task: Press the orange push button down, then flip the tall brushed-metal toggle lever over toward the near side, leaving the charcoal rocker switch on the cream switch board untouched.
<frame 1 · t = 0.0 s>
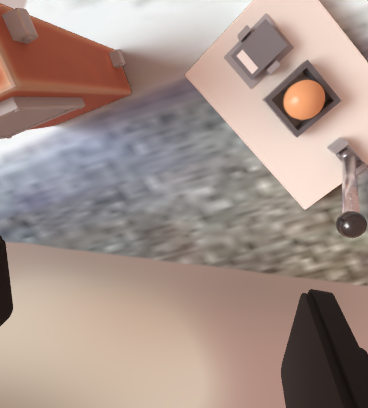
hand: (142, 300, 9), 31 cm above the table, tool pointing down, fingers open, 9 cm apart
push button: (302, 100, 30), point 6 cm above the table, slide at 0.0 cm
control panel: (83, 91, 39), on the table
toggle lever: (349, 185, 27), point 10 cm above the table, hinge at 20.0°
switch board: (292, 100, 35), on the table
rocker switch: (258, 50, 30), point 5 cm above the table, hinge at 10.0°
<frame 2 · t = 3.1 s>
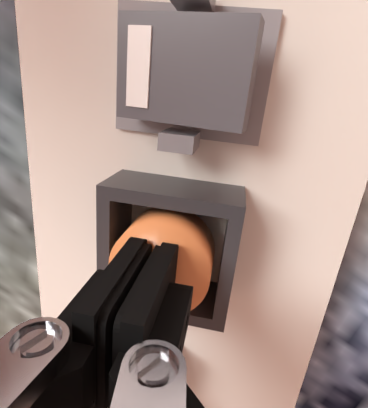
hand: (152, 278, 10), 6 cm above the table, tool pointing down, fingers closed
push button: (164, 259, 11), point 5 cm above the table, slide at 0.6 cm, touching gripper
switch board: (187, 210, 16), on the table
rocker switch: (184, 72, 10), point 5 cm above the table, hinge at 10.0°
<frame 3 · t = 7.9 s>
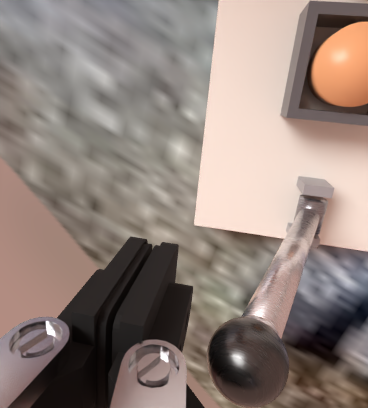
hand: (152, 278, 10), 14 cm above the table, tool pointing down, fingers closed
push button: (349, 68, 15), point 5 cm above the table, slide at 0.8 cm
toggle lever: (290, 258, 13), point 11 cm above the table, hinge at 18.8°, touching gripper
switch board: (323, 75, 19), on the table
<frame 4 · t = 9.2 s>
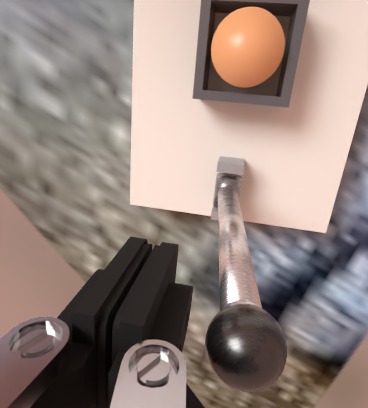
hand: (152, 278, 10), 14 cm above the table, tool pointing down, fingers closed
push button: (246, 51, 16), point 5 cm above the table, slide at 0.8 cm
toggle lever: (232, 235, 13), point 11 cm above the table, hinge at -4.9°, touching gripper
switch board: (246, 60, 21), on the table
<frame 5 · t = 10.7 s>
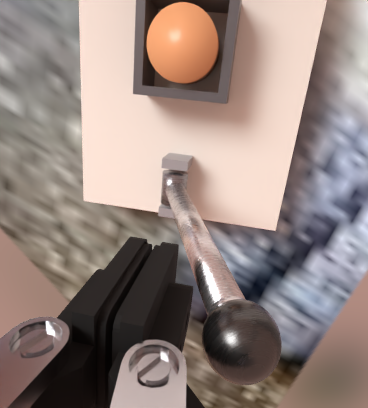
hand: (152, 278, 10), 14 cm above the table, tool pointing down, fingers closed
push button: (184, 47, 16), point 5 cm above the table, slide at 0.8 cm
toggle lever: (193, 232, 13), point 10 cm above the table, hinge at -19.8°, touching gripper
switch board: (197, 58, 21), on the table
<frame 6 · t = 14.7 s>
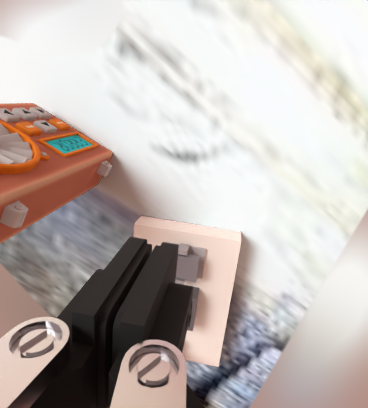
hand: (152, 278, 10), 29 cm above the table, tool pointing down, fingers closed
control panel: (66, 145, 41), on the table
switch board: (182, 287, 45), on the table
rocker switch: (181, 265, 38), point 5 cm above the table, hinge at 10.0°
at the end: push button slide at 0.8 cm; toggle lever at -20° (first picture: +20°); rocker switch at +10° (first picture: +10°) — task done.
